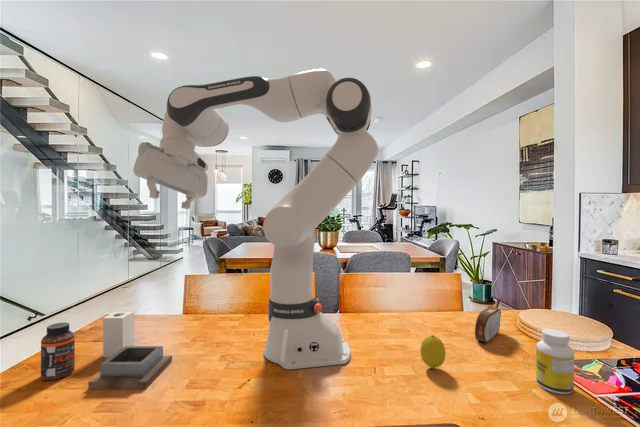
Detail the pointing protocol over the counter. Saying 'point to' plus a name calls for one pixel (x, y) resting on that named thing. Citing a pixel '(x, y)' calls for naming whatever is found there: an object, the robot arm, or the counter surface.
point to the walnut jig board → (130, 382)
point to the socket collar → (123, 369)
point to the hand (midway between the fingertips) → (170, 203)
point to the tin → (487, 324)
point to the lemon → (432, 351)
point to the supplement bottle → (57, 352)
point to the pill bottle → (555, 362)
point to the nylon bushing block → (117, 332)
